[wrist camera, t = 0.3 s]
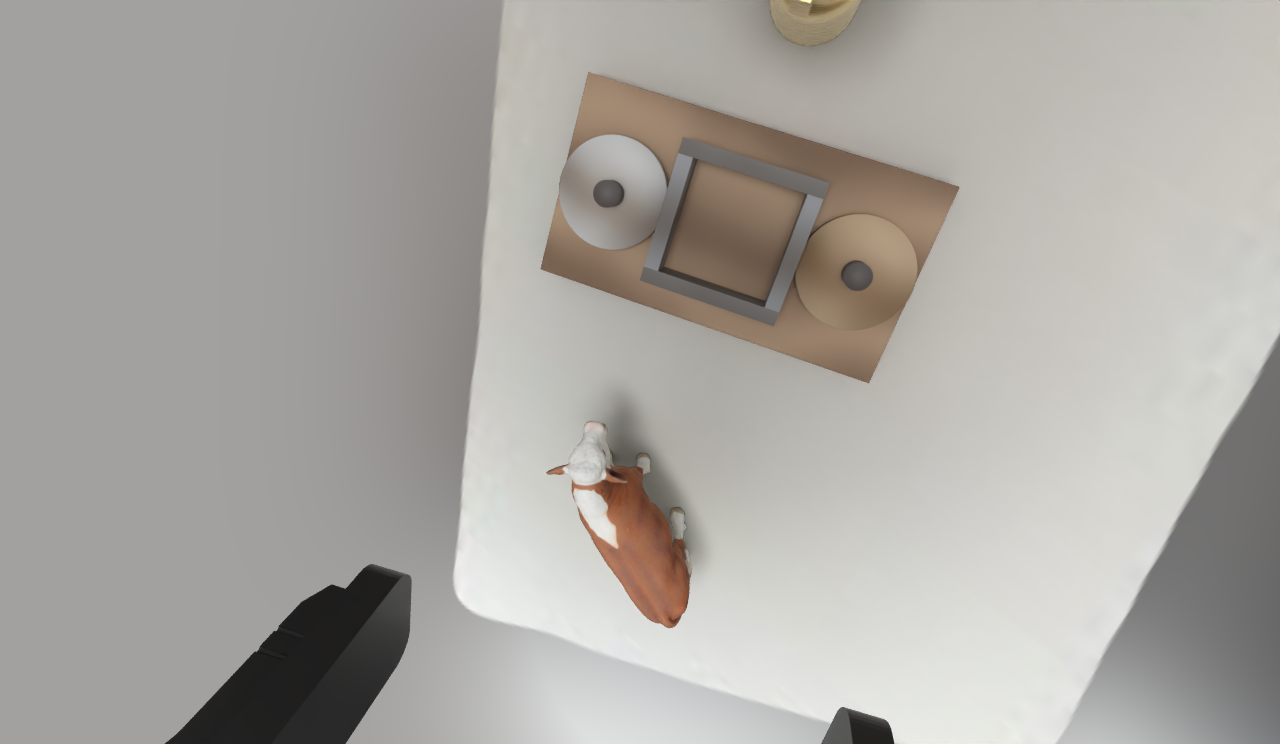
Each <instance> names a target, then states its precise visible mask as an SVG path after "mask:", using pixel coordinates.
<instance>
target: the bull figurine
mask: <svg viewBox="0 0 1280 744" xmlns="http://www.w3.org/2000/svg"><path fill="white" fill-rule="evenodd" d="M607 432H608V431H607V427H606V425H605V424H603V423H600V422H597V421H589V422H587V423H586V424H585V425H584V431H583V439H582V441H581V442H580V443H579V445H578V446H577V447H576V448H575V449H574V451H573V452H572V453H571V455H570V457H569V461H570V463H569V464H567V465H563V466H559V467H556V468H554V469H551V470H549V471H548V472H546V473H547V474H558V475H561V474H568V475H569V476H570V477H571V478H572V494H573V498H574V500H575V502H576V504H577V507H578V511H579V515H580V519H581V521H582V523H583V525H584V526H585V528H586V529H587V531H588V532H589V534H590V536H591V538H592V540H593V542H594V544H595V546H596V547H597V549H598V550H599V552H600V554H601V555H602V557H603V559H604V560H605V562H606V563H607V565H608V566H609V567H610V568H611V570H612V571H613V573H614V574H615V575H616V577H617V578H618V579H619V581H620V582H621V583H622V585H623V587H624V588H625V590H626V592H627V594H628V595H629V597H630V598H631V600H632V601H633V602H634V604H635V605H636V606H637V608H638V609H639V610H640V611H641V612H642V613H643V615H644V616H646V617H647V618H648V619H649V620H651V621H653V622H655V623H661V624H662V625H664V626H665V627H667V628H672V627H675V626H676V625H677V623H678V622H679V620H680V618H681V615H682V614H683V613H684V612H685V610H686V608H687V604H688V598H689V584H690V577H691V573H692V563H691V560H690V557H689V552H688V550H687V549H685V544H684V541H683V533H684V530H685V529H686V525H685V524H684V517H685V513H684V512H683V510H681V509H680V508H673V509H671V511H670V517H671V523H672V527H673V529H674V541H673V545H672V537H671V531H670V528H669V525H668V522H667V520H666V518H665V517H664V515H663V513H662V512H661V511H660V509H659V508H658V507H657V506H656V505H655V504H653V503H652V502H651V501H650V499H649V497H648V496H647V494H646V493H645V491H644V489H643V486H642V479H643V475H644V474H646V473H650V471H651V469H650V462H651V459H650V457H649V455H647V454H645V453H641V454H639V455H638V457H637V462H636V466H634V467H633V468H626V467H623V466H615V465H614V464H613V463H612V457H613V454H612V452H611V451H610V450H609V447H608V444H607V442H606V437H607Z"/></svg>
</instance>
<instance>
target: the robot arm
mask: <svg viewBox="0 0 1280 744" xmlns="http://www.w3.org/2000/svg"><path fill="white" fill-rule="evenodd" d="M410 608H411V577H410V576H409V575H407V574H404V573H401V572H397V571H394V570H391V569H387V568H384V567H381V566H377V565H374V564H370V565H368V566H366V567H365V568H364V569H363V570H362V571H361V572H360V573H359V574H358V575H357V576H356V578H355V579H354V580H353V581H352V582H351V583H350V585H349V586H348V587H347V588H346V589H344V588H341V587H338V586H335V585H330V586H328V587H326V588H325V589H323V590H321V591H319V592H318V593H316V594H314V595H313V596H311V597H309V598H308V599H306V600H304V601H302V602H301V603H300V604H299V605H298V606H297V607H296V609H294V611H293V612H292V613H291V614H290V615H289V616H288V617H287V618H286V619H285V620H284V621H283V622H282V623H281V624H280V625H279V628H278V630H277V631H274V632H273V633H272V634H271V635H270V636H269V637H268V638H267V639H266V640H265V641H264V642H263V643H262V645H261V646H260V648H259V650H258V651H257V652H254V653H253V654H252V655H251V656H250V657H249V658H248V659H247V660H246V661H245V663H244V664H243V665H242V666H241V667H240V668H239V669H238V670H237V671H236V672H235V673H234V674H233V675H232V676H231V677H230V679H228V681H227V682H226V683H225V684H224V685H223V686H222V687H221V688H220V689H219V690H218V691H217V692H216V693H215V694H214V695H213V696H212V698H211V699H210V700H209V701H208V702H207V703H206V704H205V705H204V706H203V707H202V708H201V709H200V710H199V711H198V712H197V713H196V715H195V716H194V717H193V718H192V719H191V720H190V721H189V722H188V723H187V724H186V725H185V726H184V727H183V728H182V729H181V730H180V731H179V732H178V733H177V734H176V735H175V736H174V737H173V738H171V739H170V740H169V741H168V742H166V743H165V744H346V742H347V741H348V739H349V738H350V736H351V735H352V733H353V732H354V730H355V729H356V727H357V725H358V724H359V723H360V721H361V720H362V718H363V716H364V715H365V713H366V712H367V710H368V709H369V707H370V706H371V704H372V703H373V701H374V700H375V698H376V697H377V695H378V694H379V692H380V691H381V689H382V688H383V686H384V685H385V683H386V682H387V680H388V679H389V677H390V676H391V674H392V673H393V671H394V670H395V668H396V667H397V665H398V663H399V661H400V659H401V657H402V655H403V653H404V650H405V648H406V644H407V642H408V638H409V632H410V610H411V609H410ZM822 744H894V740H893V735H892V731H891V728H890V725H889V723H888V722H887V721H886V720H884V719H881V718H878V717H875V716H871V715H868V714H865V713H861V712H858V711H855V710H851V709H848V708H845V707H841V708H840V709H839V710H838V711H837V713H836V715H835V717H834V719H833V721H832V723H831V725H830V728H829V729H828V731H827V733H826V736H825V737H824V739H823V741H822Z"/></svg>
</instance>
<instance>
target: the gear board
mask: <svg viewBox="0 0 1280 744" xmlns="http://www.w3.org/2000/svg"><path fill="white" fill-rule="evenodd" d="M958 190H959V187H958V186H955V185H951V184H948V183H945V182H942V181H939V180H935V179H932V178H929V177H926V176H922V175H919V174H916V173H913V172H909V171H906V170H903V169H900V168H897V167H893V166H890V165H887V164H884V163H880V162H877V161H874V160H871V159H867V158H864V157H861V156H858V155H854V154H851V153H848V152H845V151H842V150H838V149H835V148H832V147H829V146H825V145H822V144H819V143H816V142H812V141H809V140H806V139H803V138H799V137H796V136H793V135H790V134H787V133H783V132H780V131H777V130H774V129H770V128H767V127H764V126H761V125H757V124H754V123H751V122H748V121H745V120H741V119H738V118H735V117H732V116H728V115H725V114H722V113H719V112H715V111H712V110H709V109H706V108H702V107H699V106H696V105H693V104H690V103H686V102H683V101H680V100H677V99H673V98H670V97H667V96H664V95H660V94H657V93H654V92H651V91H647V90H644V89H641V88H638V87H635V86H631V85H628V84H625V83H622V82H618V81H615V80H612V79H609V78H605V77H602V76H599V75H596V74H593V73H589V72H588V76H587V80H586V84H585V88H584V92H583V96H582V100H581V105H580V109H579V113H578V117H577V121H576V125H575V129H574V133H573V138H572V142H571V146H570V150H569V154H568V158H567V162H566V164H565V166H564V168H563V171H562V174H561V178H560V183H559V195H558V199H557V204H556V208H555V212H554V216H553V220H552V224H551V228H550V232H549V236H548V241H547V245H546V249H545V253H544V257H543V261H542V265H541V269H542V270H545V271H547V272H550V273H553V274H556V275H559V276H562V277H565V278H568V279H570V280H573V281H576V282H579V283H582V284H585V285H588V286H591V287H593V288H596V289H599V290H602V291H605V292H608V293H611V294H614V295H616V296H619V297H622V298H625V299H628V300H631V301H634V302H637V303H639V304H642V305H645V306H648V307H651V308H654V309H657V310H660V311H662V312H665V313H668V314H671V315H674V316H677V317H680V318H683V319H685V320H688V321H691V322H694V323H697V324H700V325H703V326H706V327H709V328H711V329H714V330H717V331H720V332H723V333H726V334H729V335H732V336H734V337H737V338H740V339H743V340H746V341H749V342H752V343H755V344H757V345H760V346H763V347H766V348H769V349H772V350H775V351H778V352H780V353H783V354H786V355H789V356H792V357H795V358H798V359H801V360H803V361H806V362H809V363H812V364H815V365H818V366H821V367H824V368H826V369H829V370H832V371H835V372H838V373H841V374H844V375H847V376H849V377H852V378H855V379H858V380H861V381H864V382H867V383H869V382H870V380H871V377H872V375H873V373H874V371H875V369H876V367H877V364H878V362H879V360H880V358H881V356H882V354H883V351H884V349H885V347H886V345H887V343H888V341H889V339H890V336H891V334H892V332H893V330H894V328H895V326H896V323H897V321H898V319H899V317H900V315H901V313H902V310H903V308H904V306H905V304H906V302H907V300H908V299H909V297H910V295H911V293H912V291H913V289H914V286H915V282H916V280H917V278H918V276H919V274H920V272H921V269H922V267H923V265H924V263H925V261H926V259H927V256H928V254H929V252H930V250H931V248H932V246H933V243H934V241H935V239H936V237H937V235H938V233H939V231H940V228H941V226H942V224H943V222H944V220H945V218H946V215H947V213H948V211H949V209H950V207H951V205H952V202H953V200H954V198H955V196H956V194H957V192H958Z"/></svg>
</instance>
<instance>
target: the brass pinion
mask: <svg viewBox="0 0 1280 744" xmlns="http://www.w3.org/2000/svg"><path fill="white" fill-rule="evenodd" d="M860 2H861V0H770V12H771V16H772V19H773V22H774V24H775V26H776V28H777V29H778V31H779V32H780V33H781V34H782V35H783V36H784V37H785V38H786V39H788V40H789V41H791V42H793V43H796V44H799V45H803V46H815V45H820V44H823V43H826V42H828V41H830V40H832V39H833V38H835V37H836V36H838V35H839V34H840V33H841V32H842V31H843V30H844V29H845V28H846V27H847V26H848V24H849V23H850V22H851V20H852V18H853V17H854V15H855V13H856V10H857V8H858V6H859V4H860Z"/></svg>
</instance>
